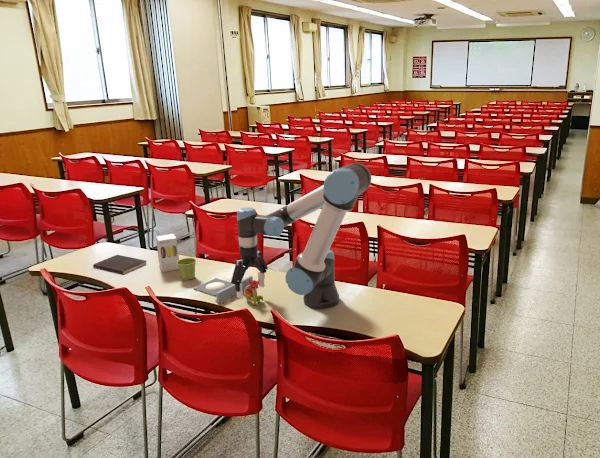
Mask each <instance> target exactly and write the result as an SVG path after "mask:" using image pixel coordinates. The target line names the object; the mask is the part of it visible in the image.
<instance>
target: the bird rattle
mask: <svg viewBox="0 0 600 458" xmlns="http://www.w3.org/2000/svg"><path fill="white" fill-rule="evenodd" d="M248 281H249V283H250V284H251V285H248V286H246V287H245V289H244V290H243V296H244V298H245V299H246V302H247V303H253V305H254V306H256V304H257V303H259V302H260V301H264V296H263V295H258V292H257V289H259V287H260V286H259V283H260V281H258V280H256V279H253V282H252V281H251V280H250V279H249V280H248Z"/></svg>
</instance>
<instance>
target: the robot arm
mask: <svg viewBox="0 0 600 458" xmlns="http://www.w3.org/2000/svg"><path fill="white" fill-rule="evenodd" d="M371 183H372V174H371V171H370V170H369V168H368V167H367V166H365V165H364V164H363V163H360V162H352V163H349V164H347V165H344V166H342V167H338V168H336V169H333V170H332V172H330V173H329V174H328V175H327V176H326V178H325V179H324V182H323V184H322V185H321V186H319V187H318V188H316V189H314V190H312V191H310V192H309V193H306V194H305V195H303V196H301V197H299V198H297V199H296V200H294V201H292V202H290V203H289V204H287V205H285V206H283V207H281V208H278V210H275V211H273V212H271V213H268V214H267V215H266V214H265V215H263V214H258V213H257V212H256V209H255V208H254V207H250V206H249V207H247V206H245V207H241V208H239V209H238V210H237V212H236V222H237V231H238V235H237V236H238V245H239V246H238V248H239V250H238V251H239V253H238V254H239V255H240V259H239V260H238V259H236V260H235V264H234V269H233V272H232V277H231V281H230V282H231V283H232V284H235V289H236V291H237V294H236V298H238V299H241V300H243V298H244V290H243V291H242V284H241V281H242V280H243V279H244V276H245V274H246V271H248V269H249V268H251V267H253V266H254V267H255V268H256V269H257V270H258V272H257V278H258V280H257V281H260V283H259V284H258V287H261V288H265V278H266V277H265V273H267V270H268V269H269V267H268V265H267V263H266V261H265V259H264V256H263V252H262V251H259V250H258V245H257V244H258V234H259V235H264V236H268V237H278V236H280V235H281V234H282V233H283V231H284V228H286V227H287V226H289V225H291V224H293V223H294V222H296V221H299V220H300V219H302V218H304V217H306V216H308V215H310V214H312V213H314V212H316V211H318V210H320V209H321V210H320V213H319V215H318V216H317V219H316V222H315V223H314V226H313V229H312V231H311V234H310V236H309V238H308V240H307V243H306V246H305V248H304V250H303V252H300V253H299V254H298V255H297V257H296V259H295V261H294V263H293V265H292V267H291V268H288V270H287V271H286V274H285V283H286V284H287V287H288V289H290V290H291V292H293V293H294V294H296V295H298V296H303V304H304V305H305V306H307V307H309V308H312V309H323V310H324V309H329V308H333V307H335V306H337V305H338V304H339V302H340V294H339V292H338V289H337V286H336V282H335V281H336V279H335V278H336V277H335V275H336V274H335V258H336V257H335V253H334V251H333V250H331V246H332V245H333V242H334V241H335V238H336V235H337V233H338V231H339V229H340V227H341V225H342V223H343V220H344V218H345V216H346V213H347V212H350V211H352V210H353V208H354V206H355V204H356V202H357V201H358V200H357V199H358V197H359V196H360V195H361V194H363V193H364V192H367V190H369V189H368V188H370V186H371Z"/></svg>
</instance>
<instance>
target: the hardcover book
mask: <svg viewBox="0 0 600 458" xmlns="http://www.w3.org/2000/svg"><path fill="white" fill-rule="evenodd" d="M146 264H147V260H144V259H139V258H134V257H131V256H130V257H129V256H126V255H122V254H121V255H120V254H116V255H114V256H113V255H112V256H111V257H108V258H105V259H103V260H100V261H99V262H98V261H97V262H95V263H93V265H92V266H93V268H94V267H96V268H95V269H98V268H100V269H99V270H102V269H103V271H107V272H111V273H117V274H119V275H120V274H121V275H124V274H127V273H130V272H131V271H134V270H136V269H138V268H141V267H143V266H145V265H146ZM142 265H143V266H142ZM140 266H141V267H140Z"/></svg>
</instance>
